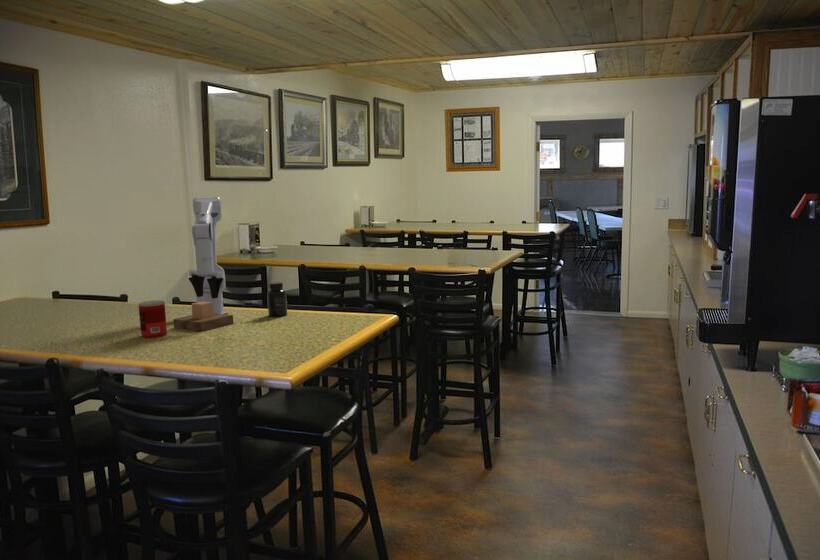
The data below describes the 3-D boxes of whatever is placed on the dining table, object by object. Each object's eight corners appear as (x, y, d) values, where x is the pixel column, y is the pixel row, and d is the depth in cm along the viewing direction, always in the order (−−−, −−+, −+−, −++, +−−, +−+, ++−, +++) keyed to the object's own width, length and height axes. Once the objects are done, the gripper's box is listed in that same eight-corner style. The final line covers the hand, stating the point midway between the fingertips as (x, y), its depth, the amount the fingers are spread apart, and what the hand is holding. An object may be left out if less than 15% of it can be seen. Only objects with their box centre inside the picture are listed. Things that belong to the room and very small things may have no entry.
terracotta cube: (192, 317, 232) (191, 303, 231) (204, 315, 236) (203, 301, 235) (202, 319, 229) (201, 304, 228) (213, 316, 233) (212, 302, 233)
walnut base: (173, 327, 231) (173, 319, 230) (206, 320, 243) (205, 312, 242) (201, 331, 224) (201, 322, 223) (233, 323, 235) (233, 315, 235)
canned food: (172, 333, 222) (169, 300, 221) (155, 338, 215) (152, 304, 213) (153, 332, 225) (150, 299, 223) (136, 337, 217) (133, 304, 216)
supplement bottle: (289, 313, 251) (287, 281, 249) (284, 317, 244) (282, 284, 243) (271, 313, 252) (269, 281, 250) (265, 317, 245) (264, 284, 243)
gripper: (180, 258, 232) (184, 297, 234) (209, 260, 224) (212, 300, 226) (197, 256, 238) (200, 294, 240) (226, 258, 230) (228, 297, 232)
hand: (207, 297), depth 233 cm, fingers open, 7 cm apart
